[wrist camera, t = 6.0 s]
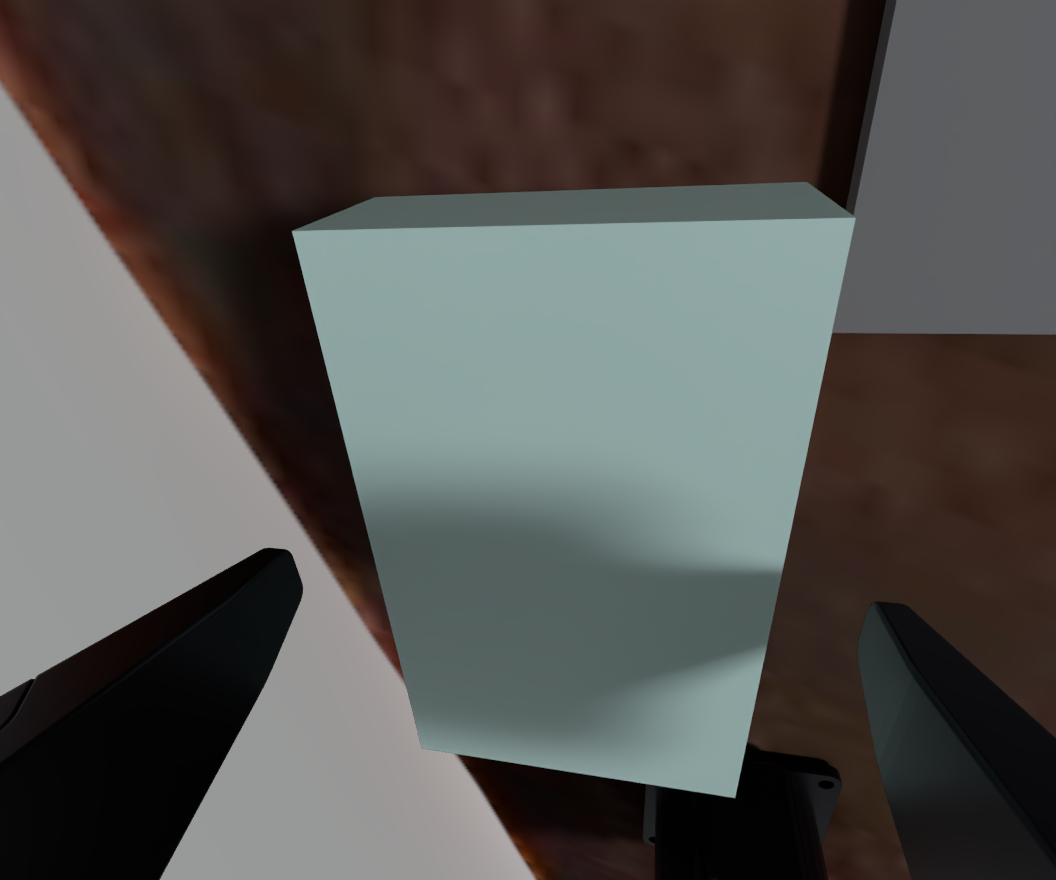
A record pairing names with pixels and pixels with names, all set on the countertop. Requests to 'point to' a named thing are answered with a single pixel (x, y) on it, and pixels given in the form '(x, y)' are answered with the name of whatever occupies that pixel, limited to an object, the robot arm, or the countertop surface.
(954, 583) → the countertop surface
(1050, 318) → the mat
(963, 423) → the countertop surface
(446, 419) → the pale teal block
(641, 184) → the countertop surface
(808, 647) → the countertop surface
